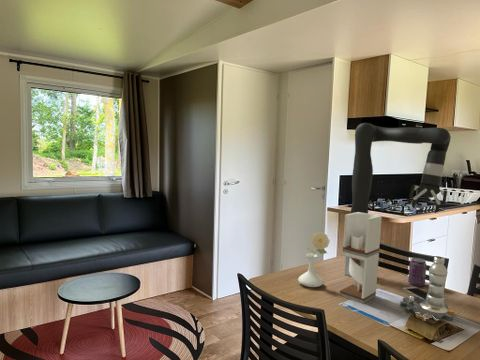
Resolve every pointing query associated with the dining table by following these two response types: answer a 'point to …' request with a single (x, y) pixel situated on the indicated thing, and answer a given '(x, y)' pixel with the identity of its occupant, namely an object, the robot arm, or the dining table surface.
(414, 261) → the beverage can
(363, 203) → the robot arm
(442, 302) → the silver bottle
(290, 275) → the dining table surface
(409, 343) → the dining table surface
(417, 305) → the sprocket plate
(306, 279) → the flower in vase
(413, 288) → the smartphone
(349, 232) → the display case
